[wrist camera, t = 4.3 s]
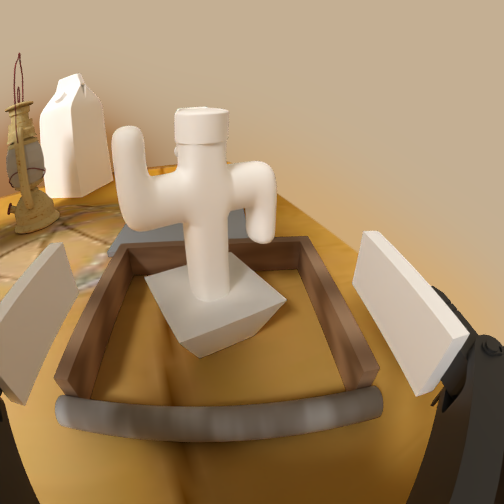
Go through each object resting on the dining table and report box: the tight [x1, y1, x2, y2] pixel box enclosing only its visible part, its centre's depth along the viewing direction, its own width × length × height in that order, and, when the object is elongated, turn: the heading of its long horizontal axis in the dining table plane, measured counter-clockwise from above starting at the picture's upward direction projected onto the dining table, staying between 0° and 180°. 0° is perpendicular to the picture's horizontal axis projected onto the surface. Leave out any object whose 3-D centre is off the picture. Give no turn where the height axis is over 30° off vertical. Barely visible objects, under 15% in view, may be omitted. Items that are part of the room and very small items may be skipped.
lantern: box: [5, 53, 60, 233], centre depth 32 cm, size 12×10×30 cm
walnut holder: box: [54, 236, 383, 442], centre depth 20 cm, size 18×18×3 cm
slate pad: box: [107, 209, 249, 257], centre depth 37 cm, size 16×16×1 cm
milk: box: [40, 73, 113, 198], centre depth 49 cm, size 12×12×26 cm
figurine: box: [112, 107, 287, 359], centre depth 17 cm, size 7×9×15 cm
